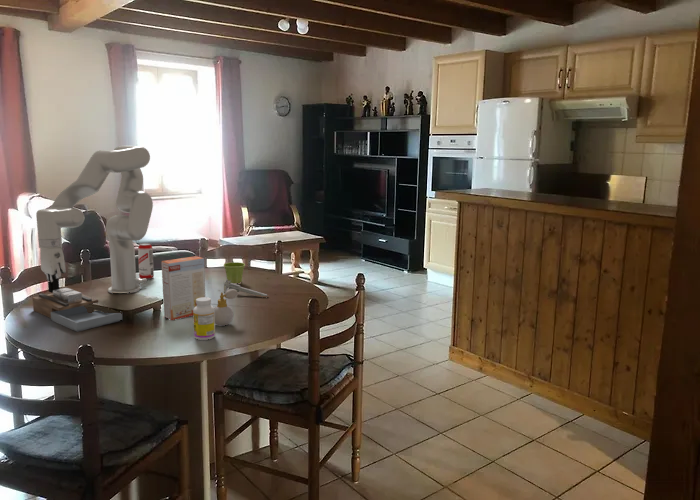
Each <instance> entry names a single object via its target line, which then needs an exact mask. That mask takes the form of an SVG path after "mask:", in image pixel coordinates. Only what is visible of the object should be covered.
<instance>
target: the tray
mask: <svg viewBox="0 0 700 500" xmlns="http://www.w3.org/2000/svg"><path fill="white" fill-rule="evenodd" d="M120 320H122V321H123V313H122V314H121V313H104V312H101V311H94V312H92V313H88V312H87V309H86V308H85V307H84V306H80V307H75V308H70V309H66V310H61V311H53V312H51V318H50V321H52V322H55V323H57V324H59V325H61V326H62V327H65V328H67V329H70V330H72V331H74V332H78V333H79V332H82V331H86V330H89V329H93V328H98V327H102V326H105V325H110V324H114V323H118V322H121V321H120Z"/></svg>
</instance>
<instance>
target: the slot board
mask: <svg viewBox="0 0 700 500" xmlns="http://www.w3.org/2000/svg"><path fill="white" fill-rule="evenodd" d="M31 300H32V309H33V311H34V312H36V313H38V314H40V315H42V316H45V317H47V318H49V319H51V312H53V311H61V310H66V309H70V308H75V307H80V306H84V305H89V304H93V303H98V304H99V299H97V298H94V297H92V296H88V295H86V294H83V293H82V301H80V302H76V303H71V304H68V303H66V302H63V301H60V300H58V299H55V298H53V293H49V294H45V293H38V296H33V297H32V299H31Z"/></svg>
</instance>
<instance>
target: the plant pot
mask: <svg viewBox="0 0 700 500" xmlns="http://www.w3.org/2000/svg"><path fill="white" fill-rule="evenodd" d="M223 267H224V271H225V275H226V280H227V279H228V281H230V280H231V281H230V283H233V284H234V283H240V282H243V275H244V269H245V267H246V264H245V263H244V262H240V261H239V262H237V261H236V262H235V261H233V262H226V263H224V264H223Z"/></svg>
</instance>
